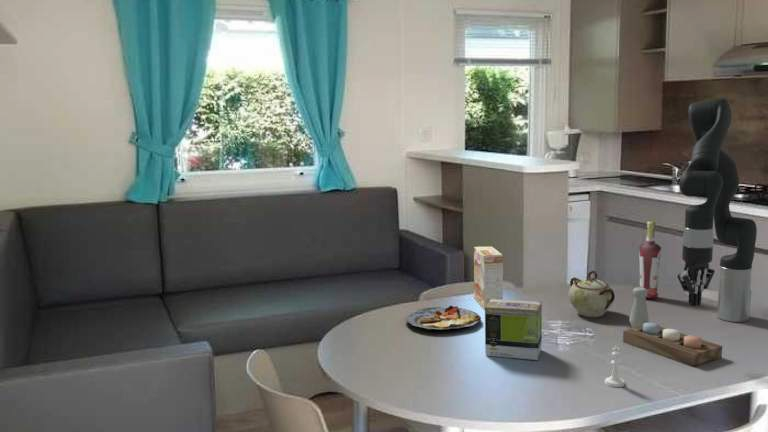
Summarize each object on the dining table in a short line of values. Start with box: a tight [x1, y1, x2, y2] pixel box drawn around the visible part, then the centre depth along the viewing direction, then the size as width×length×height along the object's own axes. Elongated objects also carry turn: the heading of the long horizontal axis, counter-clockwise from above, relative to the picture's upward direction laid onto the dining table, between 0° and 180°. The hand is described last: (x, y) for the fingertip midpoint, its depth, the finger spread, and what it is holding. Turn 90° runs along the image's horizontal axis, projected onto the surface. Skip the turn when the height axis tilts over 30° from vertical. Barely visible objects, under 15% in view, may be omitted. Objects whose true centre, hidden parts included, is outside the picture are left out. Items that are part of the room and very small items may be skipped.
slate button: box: [643, 322, 661, 336], centre depth 207 cm, size 5×5×3 cm
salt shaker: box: [628, 286, 650, 328], centre depth 220 cm, size 6×6×13 cm
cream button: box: [662, 328, 681, 342], centre depth 201 cm, size 5×5×3 cm
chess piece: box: [604, 345, 626, 388], centre depth 179 cm, size 5×5×10 cm
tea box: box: [484, 298, 543, 361], centre depth 201 cm, size 15×10×15 cm, turn 71°
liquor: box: [638, 220, 662, 300], centre depth 252 cm, size 7×7×28 cm
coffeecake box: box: [473, 245, 504, 311], centre depth 250 cm, size 15×7×20 cm, turn 6°
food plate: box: [404, 305, 482, 331], centre depth 231 cm, size 25×23×4 cm
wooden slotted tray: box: [622, 326, 723, 368], centre depth 202 cm, size 12×24×4 cm, turn 30°
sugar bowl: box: [567, 270, 616, 318], centre depth 236 cm, size 20×15×15 cm
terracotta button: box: [684, 334, 703, 350], centre depth 195 cm, size 5×5×3 cm
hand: (694, 305), depth 194 cm, fingers closed
